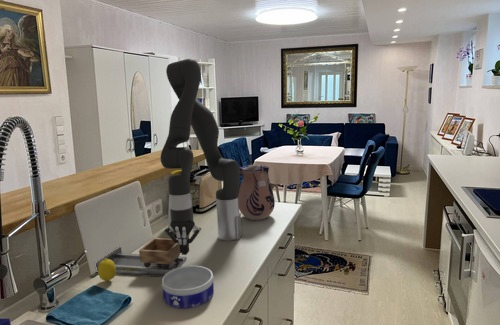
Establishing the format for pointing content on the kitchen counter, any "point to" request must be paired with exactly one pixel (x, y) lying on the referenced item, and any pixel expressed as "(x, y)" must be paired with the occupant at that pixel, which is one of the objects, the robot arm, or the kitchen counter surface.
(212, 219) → the kitchen counter surface
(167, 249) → the wooden tray box
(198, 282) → the dog bowl
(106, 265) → the lemon
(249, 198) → the ceramic pitcher
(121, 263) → the track
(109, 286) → the kitchen counter surface
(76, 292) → the kitchen counter surface
